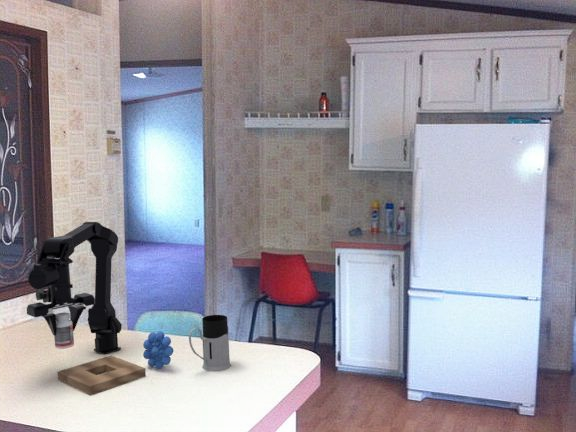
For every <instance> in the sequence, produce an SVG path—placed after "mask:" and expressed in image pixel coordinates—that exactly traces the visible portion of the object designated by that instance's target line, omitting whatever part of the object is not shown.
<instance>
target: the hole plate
mask: <svg viewBox="0 0 576 432" xmlns="http://www.w3.org/2000/svg"><path fill="white" fill-rule="evenodd" d="M56 373H57V381H58V382H61V383H63V384H66V385H68V386H70V387H73V388H74V389H77V390H78V391H80V392H83V393H85V394H87V395H89V396H94V395H95V394H99V393H101V392H104V391H107V390H111V389H113V388H116V387H119V386H122V385H124V384H128V383H130V382H133V381H136V380H139V379H142V378H145V377H146V375H147V374H146V367H143V366H141V365H138V364H136V363H133V362H129V361H128V360H125V359H122V358H120V357H116V356H114V355H108V356H104V357H101V358H98V359H97V358H96V359H95V360H91V361H88V362H85V363H81V364H78V365H75V366H71V367H68V368H64V369H62V370H57V372H56Z"/></svg>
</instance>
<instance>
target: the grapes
mask: <svg viewBox="0 0 576 432" xmlns="http://www.w3.org/2000/svg"><path fill="white" fill-rule="evenodd" d="M171 342H172V340H171V338H170V336H167V335H165V333H164V331H162V330H159V331H157V332H154V331H152V332H150V333H149V334H148V336H147V339H146V340H145V339H144V341H143V344H142V345H143V348H144V349H145V350H144V351H143V354H142V355H143V358H144V359H145V360H147V366H149V367H150V368H155V369H157V370H162V369H163V368H164V367H165V366H168V365H170V363H171V359H172V358H171V356H172V355H173V353H174V347H172V346H171Z"/></svg>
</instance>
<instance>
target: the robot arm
mask: <svg viewBox="0 0 576 432" xmlns="http://www.w3.org/2000/svg"><path fill="white" fill-rule="evenodd" d="M86 241H87V242H88V243H89V244H90V250H91V252H92V253H93V256H94V257H95V276H94V277H95V279H94V280H95V281H94V284H95V285H94V295H93V294H90V293H87V292H82V293H81V292H80V293H78V294H74V296H73V297H72V289H73V284H72V283H71V276H70V275H71V274H70V264H73V263H74V260H73V259H72V258H70V256H72V255H73V254H74V253H75V249H76V248H77V247H78V246H79V245H81V244H83V243H85V242H86ZM118 243H119V237H118V235H117V234H116V232H115V231H113V229H110V228H108V227H106V226H104V225H102V224H101V222H98V221H85V222H83V223H81V225H79V226H77V227H76V228H73V230H71V231H69V232H67V233H65V234H63V235H59V236H53V237H50V238H47V239H45V240H44V242H43V244H42V247H41V250H40V253H39V256H38V259H37V261H36V264H34V265H33V269H32V270H31V271H30V272H29V275H28V277H27V279H28V282H29V283H28V284H29V285H30V287H32V288H33V289H35V298H36V300H37V301H40V302H33V303H29V304H28V305H27V307H26V315H28V316H31V317H33V318H39V317H42V318H44V320H45V321H46V323H47V325H48V327H49V330H50V331H51V334H52V336H55V335H56V314H57V313H54V310H57V309H58V310H59V309H61V308H62V309H63V308H67V307H68V310H69V314H70V318H69V320H71V321H72V323H73V332H74V331H75V330H76V327H77V325H78V322H79V320H80V317H81V315H82V314H83V311H84V310H87V307H88V306H92V307H89V308H88V310H87V324H88V327H89V329H90V333H91V334H95V337H94V349H93V351H95V352H97V353H99V354H102V355H106V354H110V353H113V352H117V351H120V350H122V348H121V347H120V346H119V340H118V339H119V338H118V334H120V333H121V331H122V327H123V326H122V323H121V322H120V320H119V319H118V318H117V316H116V315H117V314H116V308H114V306H113V304H112V301H111V295H112V293H111V291H112V259H113V257H114V255H115V254H116V252H117V249H118ZM45 288H47V289H46V290H45ZM41 301H42V302H41Z"/></svg>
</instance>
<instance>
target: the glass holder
mask: <svg viewBox="0 0 576 432" xmlns="http://www.w3.org/2000/svg"><path fill="white" fill-rule="evenodd" d="M201 321H202V322H201V323H202V324H201V325H202V329H200V328H199V327H193V328H192V329H191V330H190V331H189V334H188V342H189V347H190V349H191V351H192V352H193V354H194V355H196V356H197V358H200V359H201V360H202V361H203V364H202V365H201V366H202V367H201V368H202V369H203V370H204V371H207V372H222V371H225V370H226V371H227V370H229V369H230V368H231V367H232V364H231V358H230V341H229V339H230V338H229V337H230V336H229V334H230V333H229V325H228V316H227V315H224V314H210V315H207V316H206V315H205V316H204V317H202V318H201ZM195 330H197V331H198V332H199V338H200V340H201V341H202V353H203V354H202V356H201V355H199V353H197V352H196V350H195V348H194V346H193V344H192V343H193V342H192V334H193V332H194V331H195Z"/></svg>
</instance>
